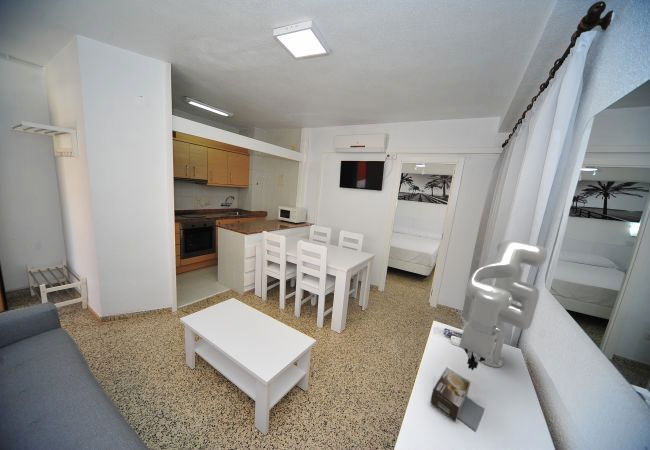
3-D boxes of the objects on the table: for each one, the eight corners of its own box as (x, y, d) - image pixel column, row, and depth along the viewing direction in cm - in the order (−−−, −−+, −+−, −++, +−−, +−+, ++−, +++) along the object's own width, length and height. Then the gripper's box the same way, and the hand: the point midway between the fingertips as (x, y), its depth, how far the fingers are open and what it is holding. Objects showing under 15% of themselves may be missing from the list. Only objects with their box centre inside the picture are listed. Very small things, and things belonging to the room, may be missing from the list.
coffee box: (443, 379, 96) (428, 402, 85) (446, 366, 95) (432, 388, 84) (467, 394, 90) (455, 422, 79) (471, 381, 89) (459, 407, 78)
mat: (447, 385, 94) (448, 384, 94) (484, 410, 85) (484, 408, 85) (436, 403, 86) (436, 401, 86) (475, 432, 77) (475, 430, 77)
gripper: (509, 331, 78) (497, 375, 82) (462, 311, 89) (453, 350, 93) (505, 340, 73) (493, 387, 77) (455, 318, 84) (446, 359, 88)
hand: (471, 367), depth 85 cm, fingers closed
